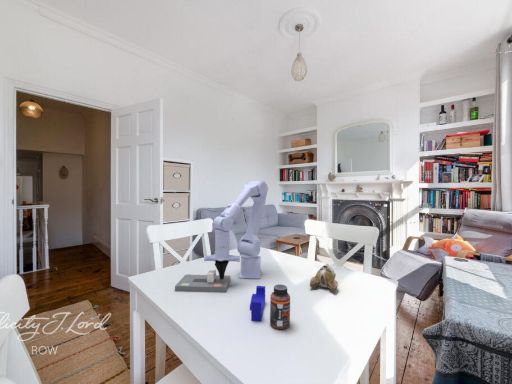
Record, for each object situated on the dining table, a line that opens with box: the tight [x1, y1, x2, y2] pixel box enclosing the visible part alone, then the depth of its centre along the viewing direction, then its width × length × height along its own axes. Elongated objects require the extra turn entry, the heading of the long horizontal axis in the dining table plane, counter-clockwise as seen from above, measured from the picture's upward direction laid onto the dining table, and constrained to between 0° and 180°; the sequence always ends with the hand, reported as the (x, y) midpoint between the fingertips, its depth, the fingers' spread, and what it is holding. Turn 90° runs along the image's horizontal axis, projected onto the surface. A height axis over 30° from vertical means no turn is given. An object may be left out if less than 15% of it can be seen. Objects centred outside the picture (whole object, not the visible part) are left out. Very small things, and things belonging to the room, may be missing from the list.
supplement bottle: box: [269, 283, 291, 330], centre depth 70 cm, size 6×6×11 cm
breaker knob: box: [206, 269, 217, 283], centre depth 97 cm, size 2×5×4 cm, turn 178°
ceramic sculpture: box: [309, 263, 338, 292], centre depth 98 cm, size 11×9×15 cm
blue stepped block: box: [249, 285, 266, 322], centre depth 77 cm, size 12×4×6 cm, turn 172°
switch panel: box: [174, 274, 231, 293], centre depth 97 cm, size 20×12×2 cm, turn 88°
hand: (222, 278), depth 97 cm, fingers closed
